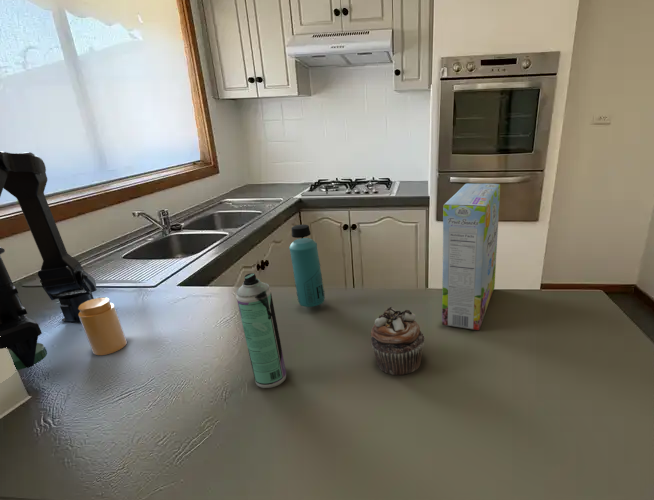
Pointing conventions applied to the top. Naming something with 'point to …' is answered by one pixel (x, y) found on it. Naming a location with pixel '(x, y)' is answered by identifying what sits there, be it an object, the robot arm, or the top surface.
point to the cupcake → (397, 342)
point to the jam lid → (39, 356)
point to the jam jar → (102, 326)
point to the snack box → (469, 254)
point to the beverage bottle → (306, 268)
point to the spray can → (261, 332)
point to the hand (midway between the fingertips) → (25, 360)
